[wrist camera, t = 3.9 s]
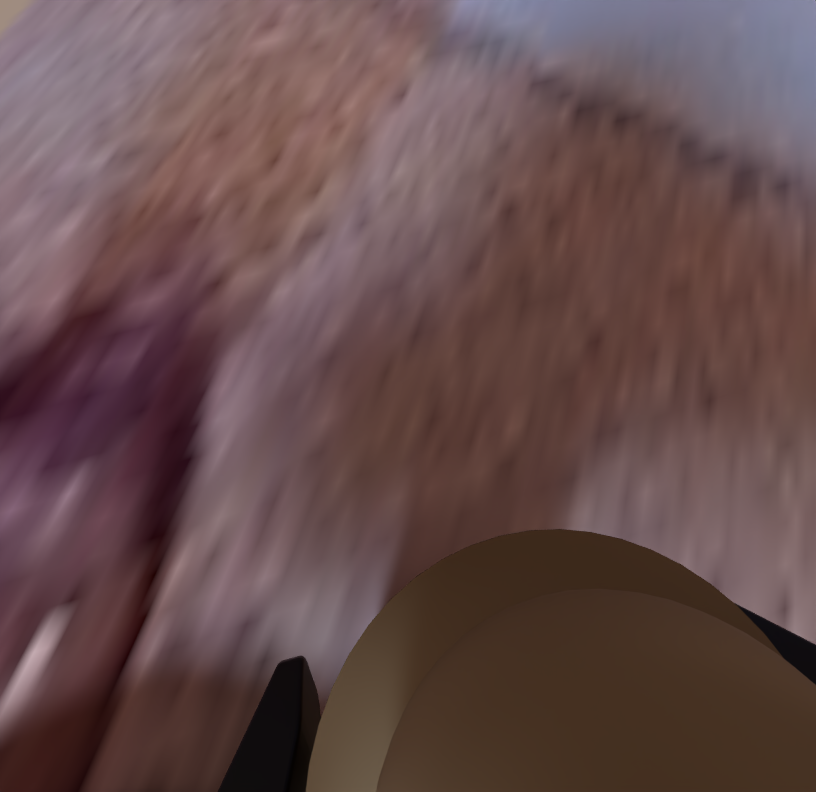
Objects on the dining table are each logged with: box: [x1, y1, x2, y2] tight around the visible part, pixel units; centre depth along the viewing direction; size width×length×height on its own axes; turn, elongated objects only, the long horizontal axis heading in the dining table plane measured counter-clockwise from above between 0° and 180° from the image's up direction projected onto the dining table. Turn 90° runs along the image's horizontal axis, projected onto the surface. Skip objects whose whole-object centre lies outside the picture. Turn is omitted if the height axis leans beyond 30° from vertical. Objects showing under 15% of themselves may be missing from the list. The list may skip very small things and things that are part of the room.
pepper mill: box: [306, 529, 816, 792], centre depth 9 cm, size 5×5×14 cm
